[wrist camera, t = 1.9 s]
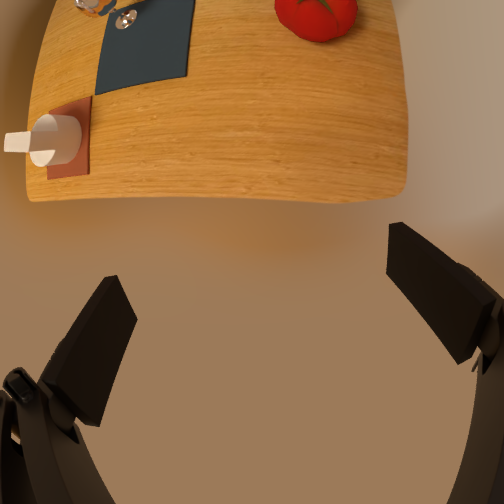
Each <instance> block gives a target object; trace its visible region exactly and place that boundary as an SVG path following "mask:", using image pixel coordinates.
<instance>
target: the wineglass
mask: <svg viewBox="0 0 504 504" xmlns="http://www.w3.org/2000/svg"><path fill="white" fill-rule="evenodd" d="M116 3H117V0H75V1H74V5H75V6H76V7H77V8H78V10H79V11H80V12H82V13H83V14H84V15H86V16H88V17H92V18H97V17H101V16H104V15H106V14H107V13H109V12H111V13H114V14H117V15H118V16H119V17H118V19H117V20H116V24H115V25H116V28H118V29H124V28H127V27H128V26H130V25H131V24H132V23H133V22H134V21H135V19H136V17H137V12H136V11H135V10H133V9H130V10H127V11H125V12H123V13H122V14H120V13H119V12H117V10H116V9H115V8H114V6H115V5H116Z"/></svg>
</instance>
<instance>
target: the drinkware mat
mask: <svg viewBox="0 0 504 504" xmlns="http://www.w3.org/2000/svg"><path fill="white" fill-rule="evenodd" d="M194 3H195V0H145V1H142V2H139V3H135V4H132V5H129V6H127V7H124V8H121V9H118V10H117V12H119V13H120V14H122V13H123V12H125V11H127V10H130V9H133V10H135V11H136V12H137V17H136V19H135V21H134V22H133V23H132V24H131V25H130V26H128V27H127V28H124V29H118V28H116V25H115V24H116V20H117V19H118V17H119V16H118V15H117V14H114V13H110V14H109V17H108V21H107V25H106V30H105V34H104V39H103V43H102V48H101V54H100V59H99V65H98V72H97V79H96V87H95V95H99V94H103V93H106V92H110V91H114V90H118V89H122V88H126V87H130V86H135V85H139V84H144V83H149V82H155V81H160V80H166V79H173V78H180V77H186V71H187V60H188V50H189V41H190V32H191V24H192V17H193V10H194Z"/></svg>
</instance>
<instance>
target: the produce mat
mask: <svg viewBox="0 0 504 504" xmlns="http://www.w3.org/2000/svg"><path fill="white" fill-rule="evenodd" d="M91 101H92V97H91V96H90V97H87V98H84V99H81V100H78V101H75V102H72V103H69V104H66V105H64V106H61V107H58V108H56V109H53V110H51V111H49V114H51V115H65V116H73V117H75V118H76V119H77V120H78V121H79V123H80V126H81V131H82V138H81V144H80V148H79V150H78V152H77V154H76V156H75V157H74V158H73V159H72V160H71V161H70V162H68V163H66V164H57V165H50V166H47V180H49V179H56V178H63V177H71V176H78V175H87V174H89V131H90V114H91Z"/></svg>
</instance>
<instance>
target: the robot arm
mask: <svg viewBox="0 0 504 504" xmlns="http://www.w3.org/2000/svg"><path fill="white" fill-rule="evenodd" d="M386 270H387V271H386V274H387V275H388V277H389V278H390V279H391V280H392V281H393V282H394V283H395V285H396V286H397V287H398V288H399V289H400V290H401V292H402V293H403V294H404V295H405V296H406V297H407V299H408V300H409V301H410V302H411V303H412V305H413V306H414V307H415V309H416V310H417V311H418V312H419V314H420V315H421V316H422V317H423V319H424V320H425V321H426V322H427V324H428V325H429V326H430V327H431V329H432V330H433V331H434V333H435V334H436V335H437V337H438V338H439V339H440V341H441V342H442V344H443V345H444V346H445V347H446V349H447V350H448V352H449V353H450V355H451V356H452V357H453V359H454V360H455V361H456V363H457V364H458V365H459V364H460V363H463V362H464V361H466V360H468V359H470V358H471V357H472V355H473V353H474V352H475V350H476V348H477V346H478V347H479V348H480V350H481V353H480V354H479V356H478V358H477V360H476V362H475V364H474V366H473V368H472V372H474V370H475V369H476V367H477V366H478V371H477V373H478V374H477V385H476V394H475V401H474V408H473V414H472V420H471V426H470V430H469V435H468V440H467V443H466V448H465V451H464V455H463V459H462V462H461V465H460V469H459V472H458V475H457V478H456V481H455V484H454V487H453V489H452V492H451V494H450V497H449V499H448V502H447V504H504V299H503V298H502V297H501V296H500V295H499V294H498V293H497V292H495V291H494V290H493V289H492V288H491V287H490V286H489V285H488V284H487V283H485V282H484V281H482V279H481V278H480V277H479V276H476V274H475V273H474V272H473V271H472V270H470V269H469V268H468V267H466V266H464V265H462V264H460V263H456V262H455V261H454V260H452V259H451V258H450V257H448V256H447V255H446V254H445V253H444V252H442V251H441V250H440V249H438V248H437V247H436V246H434V245H433V244H432V243H430V242H429V241H428V240H427V239H425V238H424V237H422V236H421V235H420V234H418V233H417V232H415V231H414V230H413V229H411V228H410V227H409V226H407V225H406V224H404V223H403V222H398V223H392V224H389V238H388V257H387V269H386ZM137 320H138V319H137V317H136V315H135V313H134V311H133V309H132V307H131V305H130V303H129V301H128V299H127V296H126V294H125V292H124V290H123V288H122V285H121V283H120V281H119V279H118V276H117V275H114V276H109V277H105V278H104V279H103V280H102V282H101V283H100V284H99V286H98V287H97V289H96V290H95V292H94V293H93V295H92V296H91V297H90V299H89V300H88V302H87V303H86V305H85V306H84V308H83V309H82V311H81V313H80V314H79V315H78V317H77V319H76V320H75V322H74V323H73V325H72V326H71V328H70V330H69V331H68V333H67V335H66V336H65V338H64V339H63V340H62V341H61V342H60V343H59V344H58V346H57V348H56V349H55V353H53V355H52V356H51V360H49V362H48V363H47V365H46V367H45V369H44V371H43V373H42V374H41V376H40V379H39V380H38V382H37V384H36V383H35V381H34V380H33V379H32V378H31V377H30V376H29V374H28V373H27V372H26V371H25V370H24V369H23V368H22V367H18V368H15V369H13V370H12V371H11V372H9V374H8V375H7V376H6V378H5V380H4V382H3V388H4V389H5V390H6V391H7V392H8V393H9V395H10V396H11V397H12V398H10V396H9V395H8V394H7V393H6V392H5V391H3V390H0V504H115V502H114V500H113V498H112V497H111V495H110V493H109V492H108V490H107V488H106V486H105V485H104V482H103V481H102V479H101V477H100V475H99V473H98V471H97V469H96V467H95V465H94V463H93V460H92V458H91V456H90V454H89V451H88V449H87V447H86V444H85V442H84V440H83V437H82V435H81V432H80V429H79V427H78V426H77V425H76V424H75V423H74V421H75V418H76V417H77V418H78V419H79V420H80V421H81V422H83V423H84V424H85V425H90V426H96V427H100V424H101V420H102V417H103V414H104V410H105V407H106V404H107V401H108V398H109V395H110V392H111V389H112V386H113V383H114V380H115V377H116V375H117V372H118V369H119V366H120V363H121V361H122V358H123V355H124V353H125V350H126V347H127V345H128V342H129V340H130V337H131V335H132V332H133V330H134V327H135V325H136V322H137ZM11 432H12V433H13V434H14V435H15V436H17V437H18V438H19V439H20V444H18V443H16V442H15V441H14V440H13V439H12V438H11Z"/></svg>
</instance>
